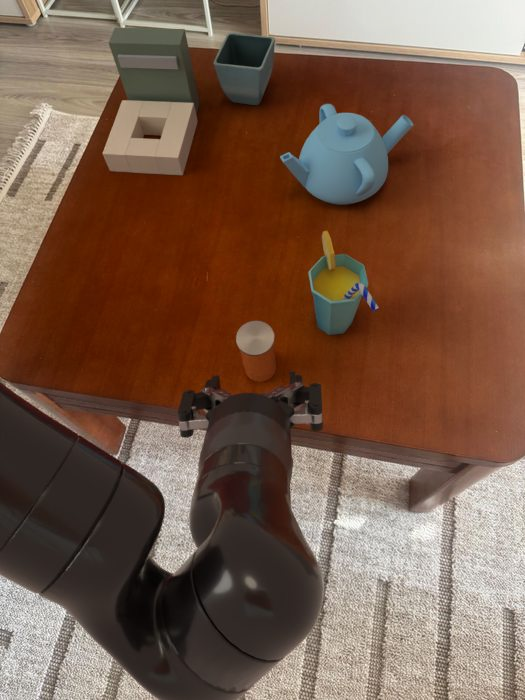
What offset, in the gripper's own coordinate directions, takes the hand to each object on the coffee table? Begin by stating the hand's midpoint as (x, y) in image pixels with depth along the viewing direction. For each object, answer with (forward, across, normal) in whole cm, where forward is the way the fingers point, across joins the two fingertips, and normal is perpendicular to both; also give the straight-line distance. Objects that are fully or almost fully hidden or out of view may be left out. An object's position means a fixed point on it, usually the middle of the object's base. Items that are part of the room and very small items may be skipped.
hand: (254, 381), depth 59 cm
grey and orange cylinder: (+14, 0, +4) cm, 14 cm away
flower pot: (+53, 0, -36) cm, 64 cm away
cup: (+18, -11, -1) cm, 21 cm away
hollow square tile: (+45, +18, -28) cm, 56 cm away
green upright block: (+52, +16, -35) cm, 65 cm away
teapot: (+38, -15, -20) cm, 46 cm away
